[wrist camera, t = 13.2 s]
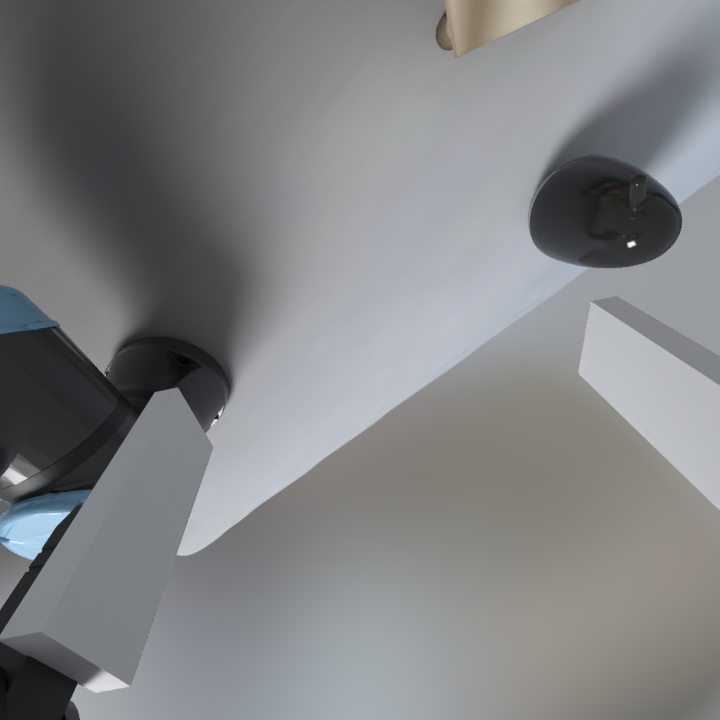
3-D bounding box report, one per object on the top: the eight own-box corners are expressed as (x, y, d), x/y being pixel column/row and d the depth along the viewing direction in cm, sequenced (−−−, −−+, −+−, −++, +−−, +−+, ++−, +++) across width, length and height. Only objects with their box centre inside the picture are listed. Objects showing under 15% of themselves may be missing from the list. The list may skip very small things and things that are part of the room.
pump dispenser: (589, 128, 37) (726, 128, 25) (614, 213, 42) (738, 251, 30) (499, 192, 40) (581, 222, 27) (532, 265, 45) (615, 320, 32)
